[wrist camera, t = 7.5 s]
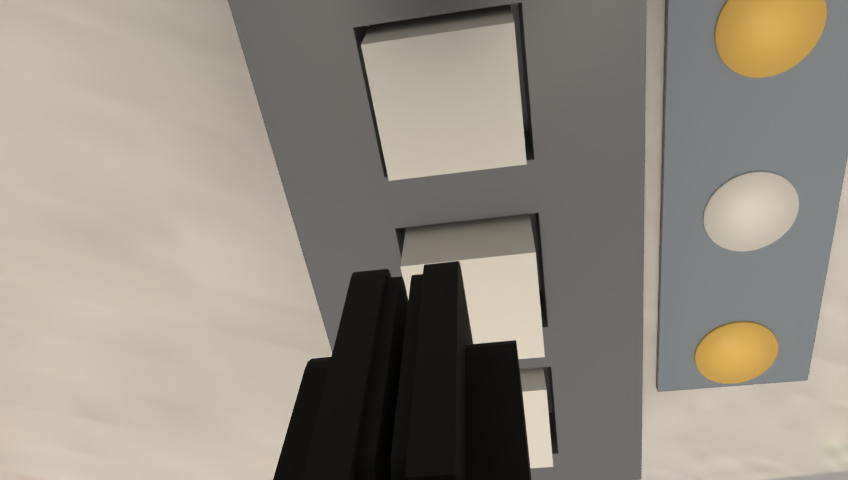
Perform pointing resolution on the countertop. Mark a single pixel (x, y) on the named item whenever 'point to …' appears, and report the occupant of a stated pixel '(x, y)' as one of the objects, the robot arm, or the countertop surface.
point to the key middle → (487, 275)
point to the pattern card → (748, 186)
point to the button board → (484, 188)
